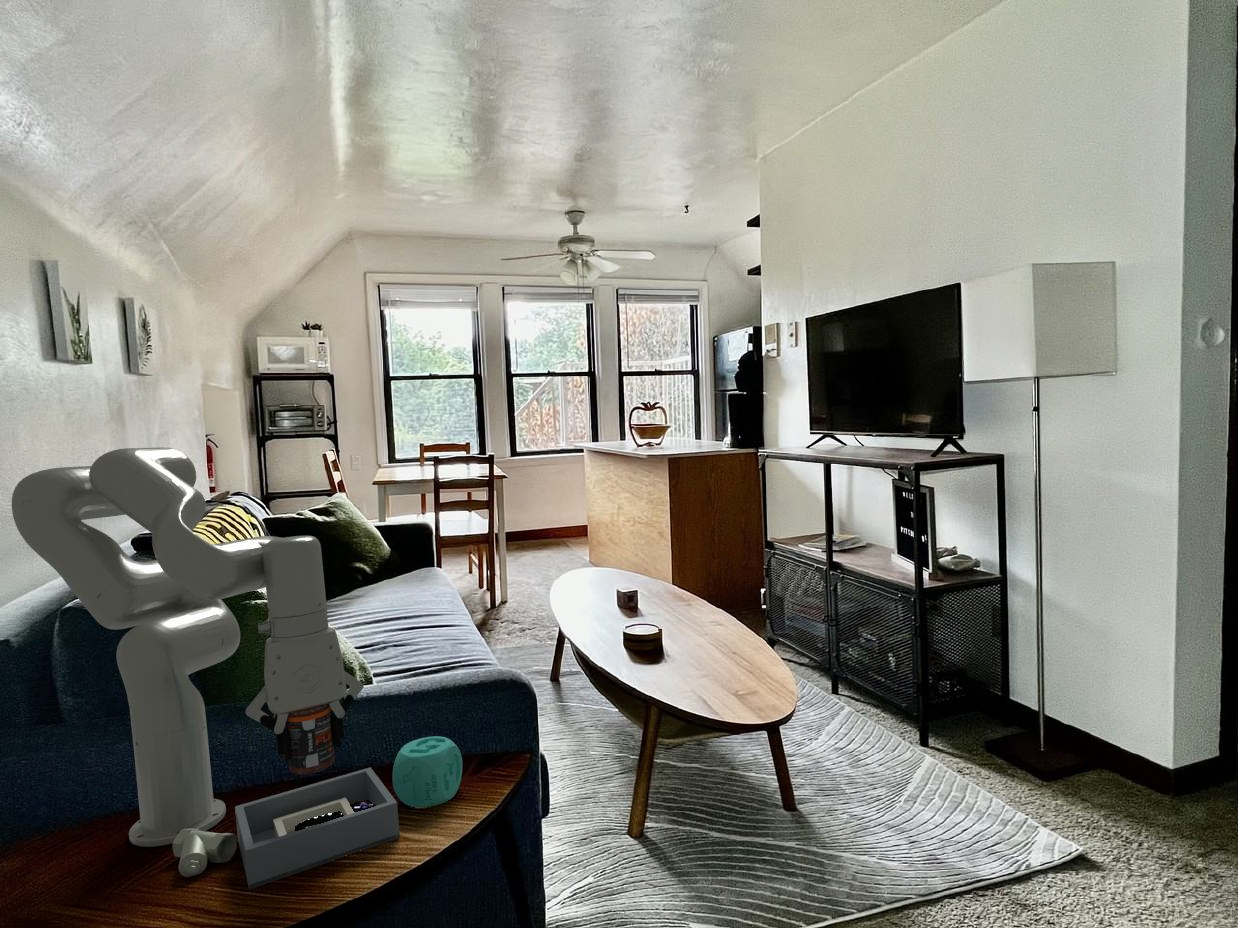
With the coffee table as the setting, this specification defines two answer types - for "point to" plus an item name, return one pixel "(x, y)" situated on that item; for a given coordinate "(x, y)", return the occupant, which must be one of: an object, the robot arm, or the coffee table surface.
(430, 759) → the decorative dice
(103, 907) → the coffee table surface
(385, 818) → the box
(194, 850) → the pipe fitting
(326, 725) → the supplement bottle
